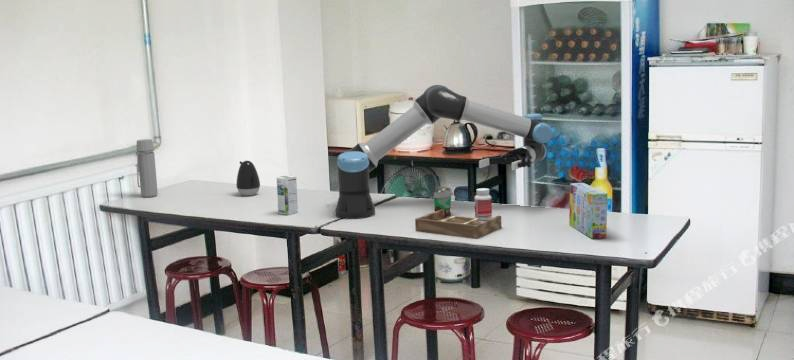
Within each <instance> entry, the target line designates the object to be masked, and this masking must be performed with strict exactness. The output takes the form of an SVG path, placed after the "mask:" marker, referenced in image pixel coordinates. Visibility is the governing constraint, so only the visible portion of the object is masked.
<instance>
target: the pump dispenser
mask: <svg viewBox="0 0 794 360" xmlns="http://www.w3.org/2000/svg"><path fill="white" fill-rule="evenodd" d="M239 164H240V165H239V168H238V171H237V176H236V189H237V191H238V193H239V194H240V195H241V196H243V197H250V196H251V197H253V196H255V195H257V194H258V193H259V191H260V187H261V181H260V177H259V174H258V171H257V168H256V166H255V164H254V163H253V162H252V161H250V160H244V161H241V160H240V161H239Z"/></svg>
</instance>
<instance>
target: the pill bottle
mask: <svg viewBox="0 0 794 360" xmlns="http://www.w3.org/2000/svg"><path fill="white" fill-rule="evenodd" d="M475 190H476V192H475V193H476V195H474V200H473V201H474V218H479V222H484V221H486V220H489V219H491V218H493V212H492V209H493V208H492V207H493V205H492V201H493V200H492V199H493V198H492V196H491V195H490V188H487V187H486V188H485V187H483V188H482V187H481V188H477V189H475Z"/></svg>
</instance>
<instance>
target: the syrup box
mask: <svg viewBox="0 0 794 360" xmlns="http://www.w3.org/2000/svg"><path fill="white" fill-rule="evenodd" d="M297 184H298V183H297V176H292V175H291V176H290V175H280V176H277V177H276V193H277V194H276V195H277V213H278V214H279V215H285V216H291V215H294V214H295V215H296V214H298V213H299V207H298V189H297V187H298V185H297Z"/></svg>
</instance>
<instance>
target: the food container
mask: <svg viewBox="0 0 794 360" xmlns="http://www.w3.org/2000/svg"><path fill="white" fill-rule="evenodd" d="M437 188H438V190H436V191H435V192H433V203H434V205H433V207H434V208H433V209H434V212H436V211H438V210H441V209H443V210H444V214H445V218H449V217H451V205H452V204H451V203H452V201H451V200H452V196H453V195H454V193H453V190H452V188H451V187H449V186H437Z"/></svg>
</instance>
